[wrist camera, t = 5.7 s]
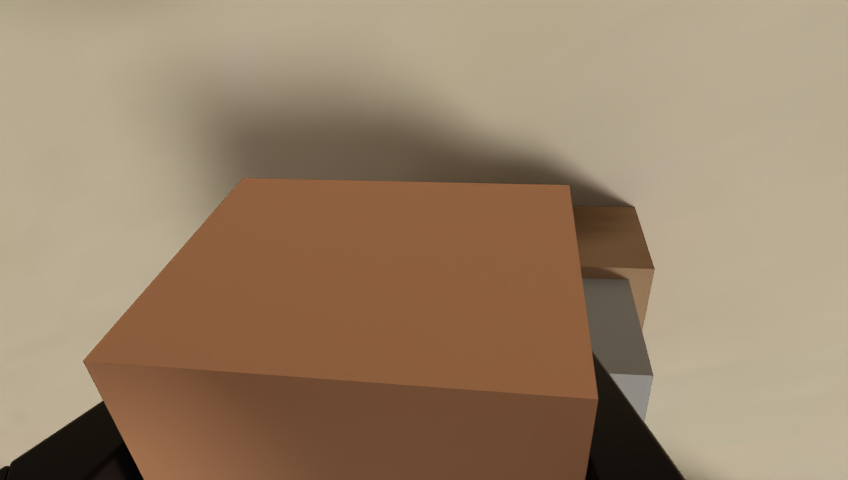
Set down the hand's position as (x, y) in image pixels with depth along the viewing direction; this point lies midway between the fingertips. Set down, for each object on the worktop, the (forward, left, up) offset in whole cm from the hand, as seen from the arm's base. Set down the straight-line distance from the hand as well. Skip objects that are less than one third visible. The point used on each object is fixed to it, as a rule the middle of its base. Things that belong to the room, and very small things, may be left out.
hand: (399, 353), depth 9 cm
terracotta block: (0, 0, -1) cm, 1 cm away
